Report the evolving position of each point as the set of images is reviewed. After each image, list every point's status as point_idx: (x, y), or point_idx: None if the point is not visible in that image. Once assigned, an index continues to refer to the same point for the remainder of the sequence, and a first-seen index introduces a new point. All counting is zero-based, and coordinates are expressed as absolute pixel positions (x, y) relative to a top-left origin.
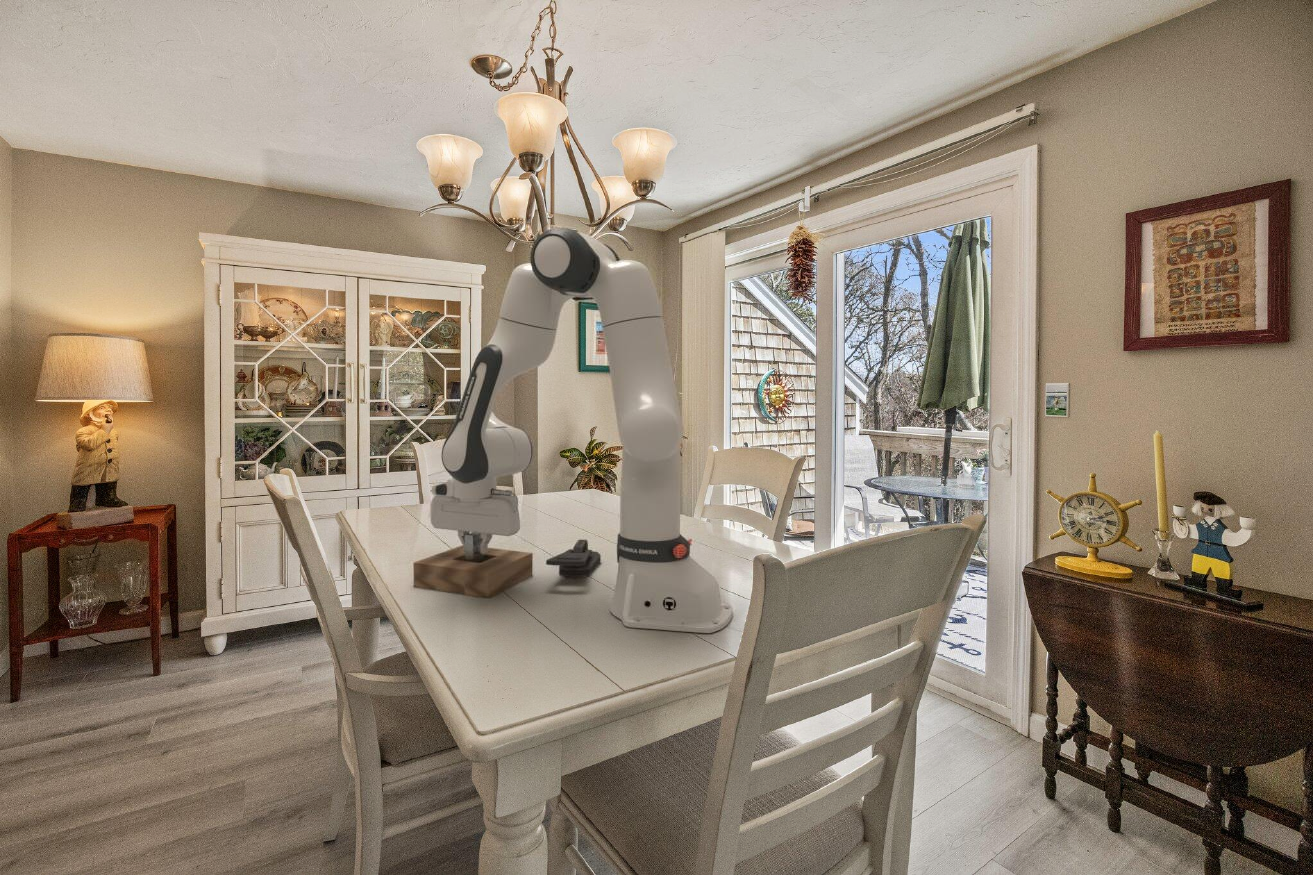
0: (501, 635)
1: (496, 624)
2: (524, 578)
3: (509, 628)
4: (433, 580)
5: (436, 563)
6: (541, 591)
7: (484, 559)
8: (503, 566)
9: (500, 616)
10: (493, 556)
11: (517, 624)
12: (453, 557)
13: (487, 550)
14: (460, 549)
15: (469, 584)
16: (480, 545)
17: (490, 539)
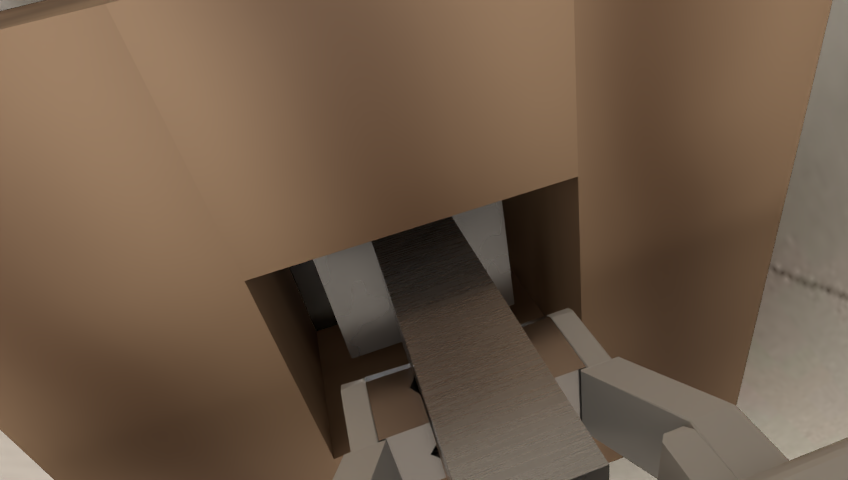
0: (824, 423)
1: (785, 404)
2: None
3: (829, 393)
4: None
5: None
6: (840, 98)
7: (463, 239)
8: (757, 300)
9: (772, 372)
10: (526, 184)
11: (843, 367)
12: (293, 438)
13: (575, 315)
14: (12, 288)
15: None
16: (593, 432)
17: (692, 394)
